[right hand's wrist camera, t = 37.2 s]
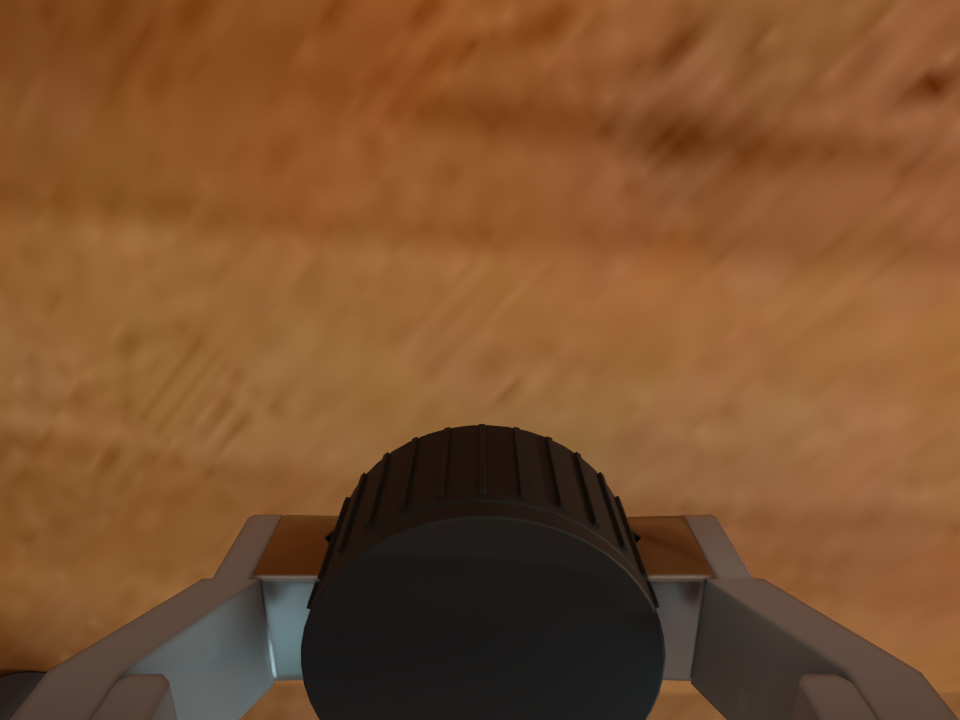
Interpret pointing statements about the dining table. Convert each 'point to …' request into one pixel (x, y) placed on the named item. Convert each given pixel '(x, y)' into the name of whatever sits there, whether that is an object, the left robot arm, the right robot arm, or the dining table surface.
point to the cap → (482, 590)
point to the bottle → (16, 691)
